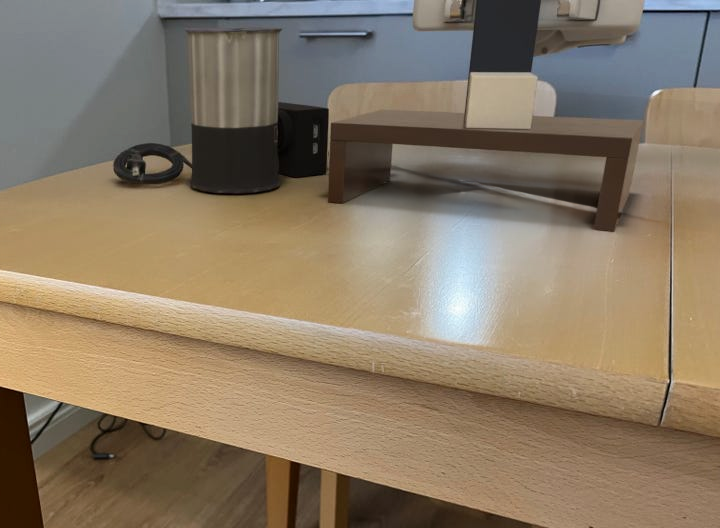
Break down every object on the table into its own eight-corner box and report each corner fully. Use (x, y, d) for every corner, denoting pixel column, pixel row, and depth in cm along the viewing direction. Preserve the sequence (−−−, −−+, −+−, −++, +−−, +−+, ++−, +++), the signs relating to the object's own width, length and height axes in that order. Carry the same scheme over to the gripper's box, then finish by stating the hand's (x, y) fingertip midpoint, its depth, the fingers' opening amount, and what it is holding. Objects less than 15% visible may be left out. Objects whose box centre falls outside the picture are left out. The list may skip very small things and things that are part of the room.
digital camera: (235, 165, 88) (235, 103, 85) (274, 161, 90) (275, 100, 87) (285, 179, 80) (286, 110, 77) (326, 174, 82) (329, 107, 79)
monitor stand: (376, 179, 79) (381, 109, 76) (627, 200, 68) (643, 120, 65) (327, 202, 69) (330, 122, 66) (614, 231, 58) (632, 137, 55)
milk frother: (295, 191, 73) (298, 25, 67) (137, 204, 69) (125, 27, 63) (245, 169, 86) (244, 27, 80) (107, 178, 81) (95, 28, 75)
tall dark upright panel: (464, 114, 71) (483, -67, 65) (520, 115, 70) (544, -69, 64) (465, 128, 61) (488, -84, 55) (530, 129, 60) (561, -87, 54)
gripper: (436, -22, 79) (393, -29, 68) (656, -31, 69) (647, -42, 58) (431, 44, 81) (388, 47, 70) (642, 43, 72) (631, 46, 61)
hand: (508, 7), depth 64 cm, fingers open, 8 cm apart
